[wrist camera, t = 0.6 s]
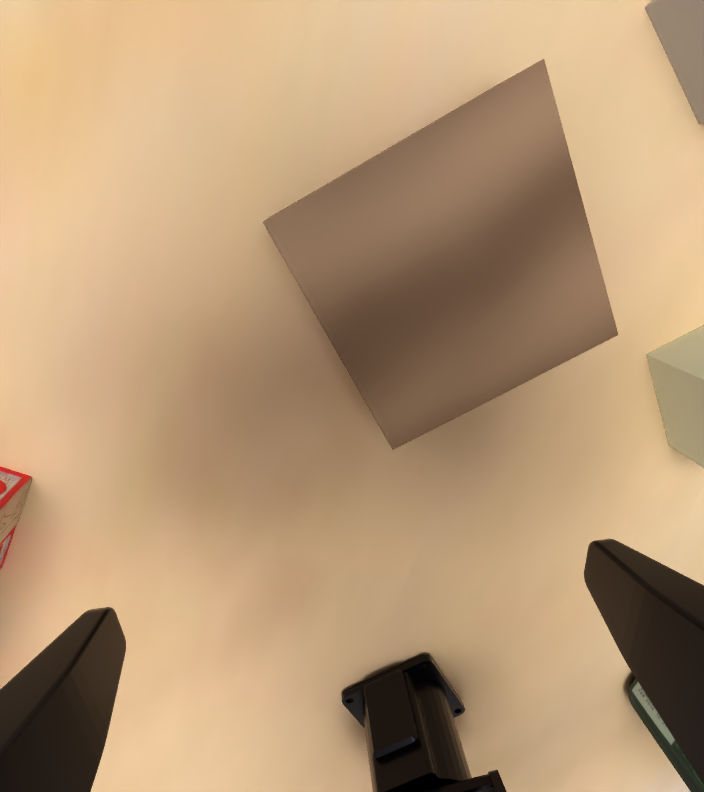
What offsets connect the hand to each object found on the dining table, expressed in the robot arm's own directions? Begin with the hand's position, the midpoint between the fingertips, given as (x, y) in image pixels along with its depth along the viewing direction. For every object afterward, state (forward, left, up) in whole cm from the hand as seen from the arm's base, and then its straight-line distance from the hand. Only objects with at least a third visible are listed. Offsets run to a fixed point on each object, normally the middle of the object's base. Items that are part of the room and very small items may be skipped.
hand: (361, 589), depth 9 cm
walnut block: (+1, -6, -14) cm, 15 cm away
